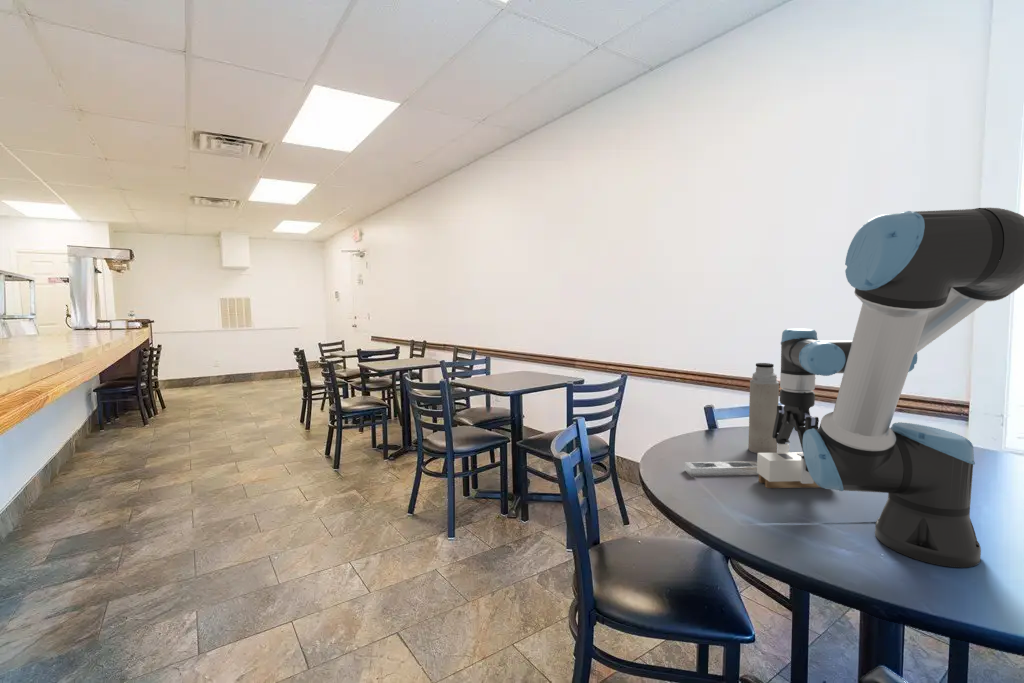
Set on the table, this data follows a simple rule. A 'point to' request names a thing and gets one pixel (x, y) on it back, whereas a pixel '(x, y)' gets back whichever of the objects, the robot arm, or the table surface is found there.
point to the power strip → (780, 466)
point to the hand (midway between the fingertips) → (794, 474)
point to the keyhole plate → (721, 468)
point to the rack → (785, 484)
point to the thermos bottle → (763, 409)
